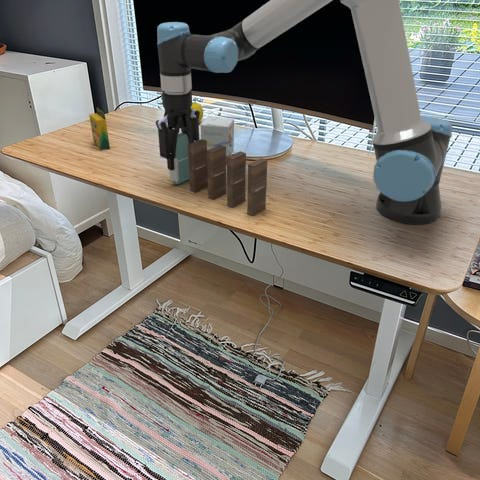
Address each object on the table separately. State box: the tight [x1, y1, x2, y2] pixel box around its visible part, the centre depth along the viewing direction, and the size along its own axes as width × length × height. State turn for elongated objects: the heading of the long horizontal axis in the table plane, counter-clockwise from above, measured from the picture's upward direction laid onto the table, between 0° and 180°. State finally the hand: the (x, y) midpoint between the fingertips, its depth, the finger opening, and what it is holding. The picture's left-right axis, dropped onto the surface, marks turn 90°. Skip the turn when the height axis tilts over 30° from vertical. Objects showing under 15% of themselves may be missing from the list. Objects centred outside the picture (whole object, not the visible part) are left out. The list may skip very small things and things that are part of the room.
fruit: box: [191, 101, 204, 122], centre depth 174 cm, size 6×6×8 cm
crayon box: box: [88, 107, 111, 151], centre depth 153 cm, size 7×3×12 cm, turn 33°
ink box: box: [200, 115, 235, 165], centre depth 145 cm, size 9×9×12 cm
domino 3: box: [207, 145, 227, 201], centre depth 123 cm, size 2×5×13 cm, turn 140°
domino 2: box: [188, 138, 208, 193], centre depth 127 cm, size 2×5×13 cm, turn 140°
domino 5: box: [246, 157, 268, 217], centre depth 116 cm, size 2×5×13 cm, turn 140°
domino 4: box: [226, 151, 247, 209], centre depth 120 cm, size 2×5×13 cm, turn 140°
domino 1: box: [172, 132, 190, 185], centre depth 130 cm, size 2×5×13 cm, turn 140°
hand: (182, 176), depth 133 cm, fingers closed on domino 1, 5 cm apart
